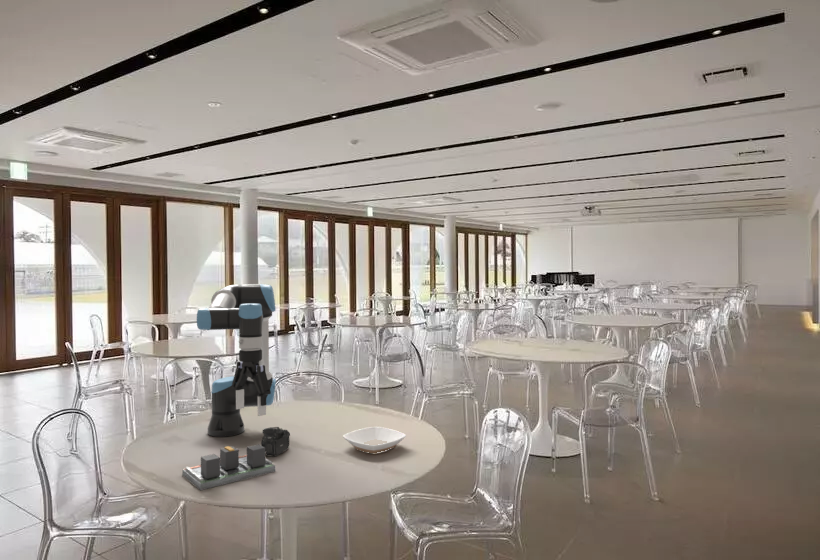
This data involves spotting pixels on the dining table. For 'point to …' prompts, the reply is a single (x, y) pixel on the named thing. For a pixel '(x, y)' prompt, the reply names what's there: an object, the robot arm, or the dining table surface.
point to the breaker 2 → (229, 457)
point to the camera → (275, 440)
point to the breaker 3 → (255, 455)
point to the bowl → (372, 433)
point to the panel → (227, 474)
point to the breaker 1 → (210, 466)
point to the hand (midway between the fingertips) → (250, 411)
